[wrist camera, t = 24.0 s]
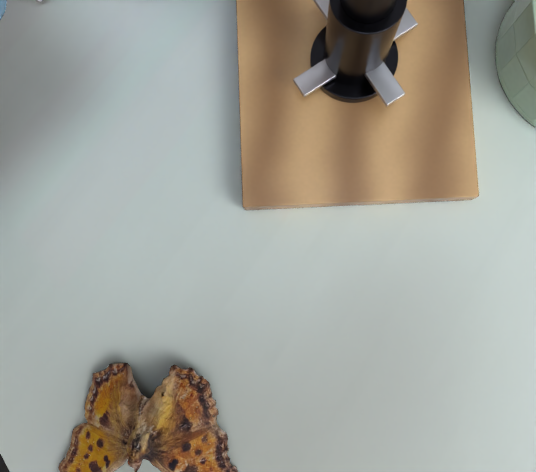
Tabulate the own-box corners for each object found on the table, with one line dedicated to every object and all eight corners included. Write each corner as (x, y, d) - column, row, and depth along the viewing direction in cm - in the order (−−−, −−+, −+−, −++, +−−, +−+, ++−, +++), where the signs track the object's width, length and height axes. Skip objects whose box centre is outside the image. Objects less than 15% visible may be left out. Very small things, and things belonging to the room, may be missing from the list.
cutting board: (244, 210, 36) (242, 207, 35) (236, -51, 38) (234, -64, 37) (471, 200, 35) (479, 196, 34) (451, -67, 37) (457, -81, 36)
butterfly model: (237, 491, 34) (231, 511, 31) (61, 487, 35) (38, 506, 32) (238, 362, 35) (232, 369, 32) (65, 361, 36) (43, 367, 33)
